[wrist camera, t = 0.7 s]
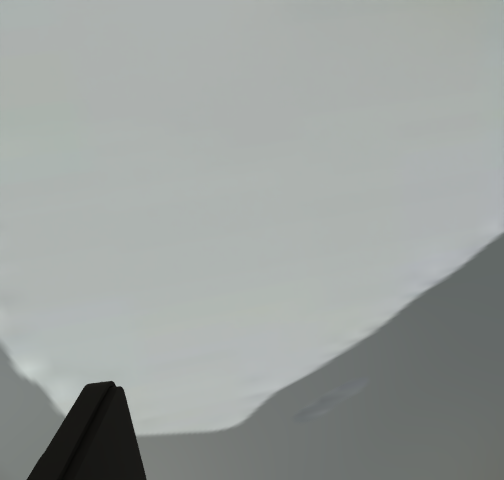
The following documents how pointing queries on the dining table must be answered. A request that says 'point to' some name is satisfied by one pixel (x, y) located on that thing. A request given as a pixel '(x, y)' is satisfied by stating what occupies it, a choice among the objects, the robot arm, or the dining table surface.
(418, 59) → the dining table surface
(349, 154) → the dining table surface
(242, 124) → the dining table surface
